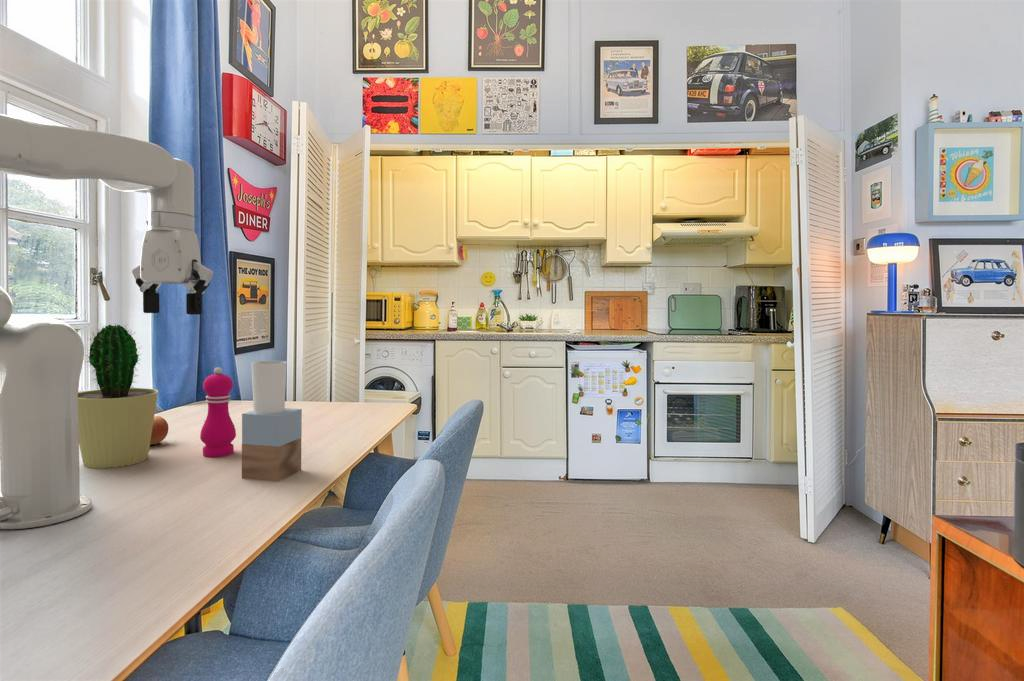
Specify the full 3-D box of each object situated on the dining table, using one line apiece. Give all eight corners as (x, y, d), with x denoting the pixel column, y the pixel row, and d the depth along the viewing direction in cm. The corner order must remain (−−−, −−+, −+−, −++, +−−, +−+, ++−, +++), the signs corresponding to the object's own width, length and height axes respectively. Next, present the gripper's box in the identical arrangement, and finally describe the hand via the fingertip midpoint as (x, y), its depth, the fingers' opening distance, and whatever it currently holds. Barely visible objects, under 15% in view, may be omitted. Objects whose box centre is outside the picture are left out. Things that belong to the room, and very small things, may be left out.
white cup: (274, 407, 116) (274, 360, 115) (293, 411, 112) (293, 362, 112) (244, 411, 110) (244, 362, 110) (263, 415, 107) (263, 364, 106)
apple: (119, 447, 129) (119, 413, 129) (150, 439, 137) (150, 408, 137) (145, 450, 127) (145, 416, 127) (175, 442, 135) (175, 410, 134)
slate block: (278, 446, 107) (279, 416, 107) (242, 443, 108) (242, 413, 108) (301, 437, 115) (301, 409, 114) (266, 434, 116) (266, 406, 116)
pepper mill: (225, 458, 122) (225, 369, 121) (193, 457, 122) (192, 368, 121) (241, 450, 129) (241, 366, 128) (211, 449, 130) (211, 365, 128)
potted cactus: (175, 455, 124) (174, 322, 122) (109, 474, 109) (106, 323, 107) (123, 448, 128) (121, 320, 126) (52, 466, 113) (49, 321, 111)
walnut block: (278, 481, 107) (278, 446, 107) (241, 478, 109) (241, 443, 108) (301, 470, 115) (301, 437, 115) (267, 467, 117) (267, 434, 116)
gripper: (116, 222, 104) (118, 312, 105) (195, 221, 100) (196, 315, 101) (150, 228, 111) (151, 312, 112) (225, 227, 108) (225, 314, 109)
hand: (172, 313), depth 107 cm, fingers open, 9 cm apart
